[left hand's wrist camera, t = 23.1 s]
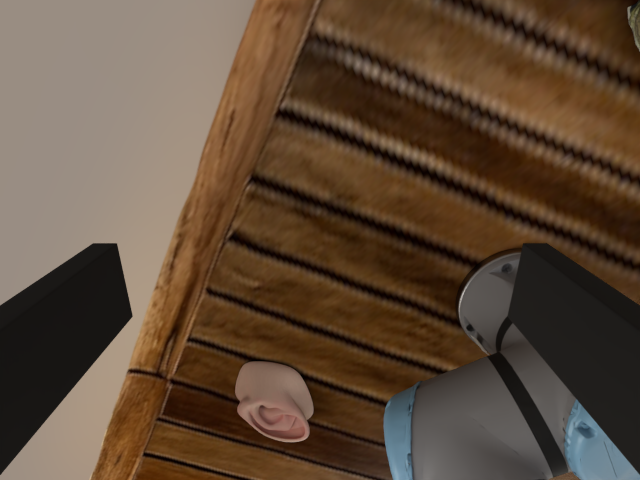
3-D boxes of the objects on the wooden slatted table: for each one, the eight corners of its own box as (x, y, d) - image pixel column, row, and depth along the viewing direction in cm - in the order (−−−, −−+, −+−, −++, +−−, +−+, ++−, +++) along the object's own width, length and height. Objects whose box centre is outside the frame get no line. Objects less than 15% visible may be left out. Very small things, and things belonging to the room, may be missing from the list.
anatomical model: (221, 382, 52) (303, 374, 51) (227, 363, 56) (304, 355, 55) (241, 451, 57) (316, 444, 56) (245, 429, 60) (316, 422, 60)
